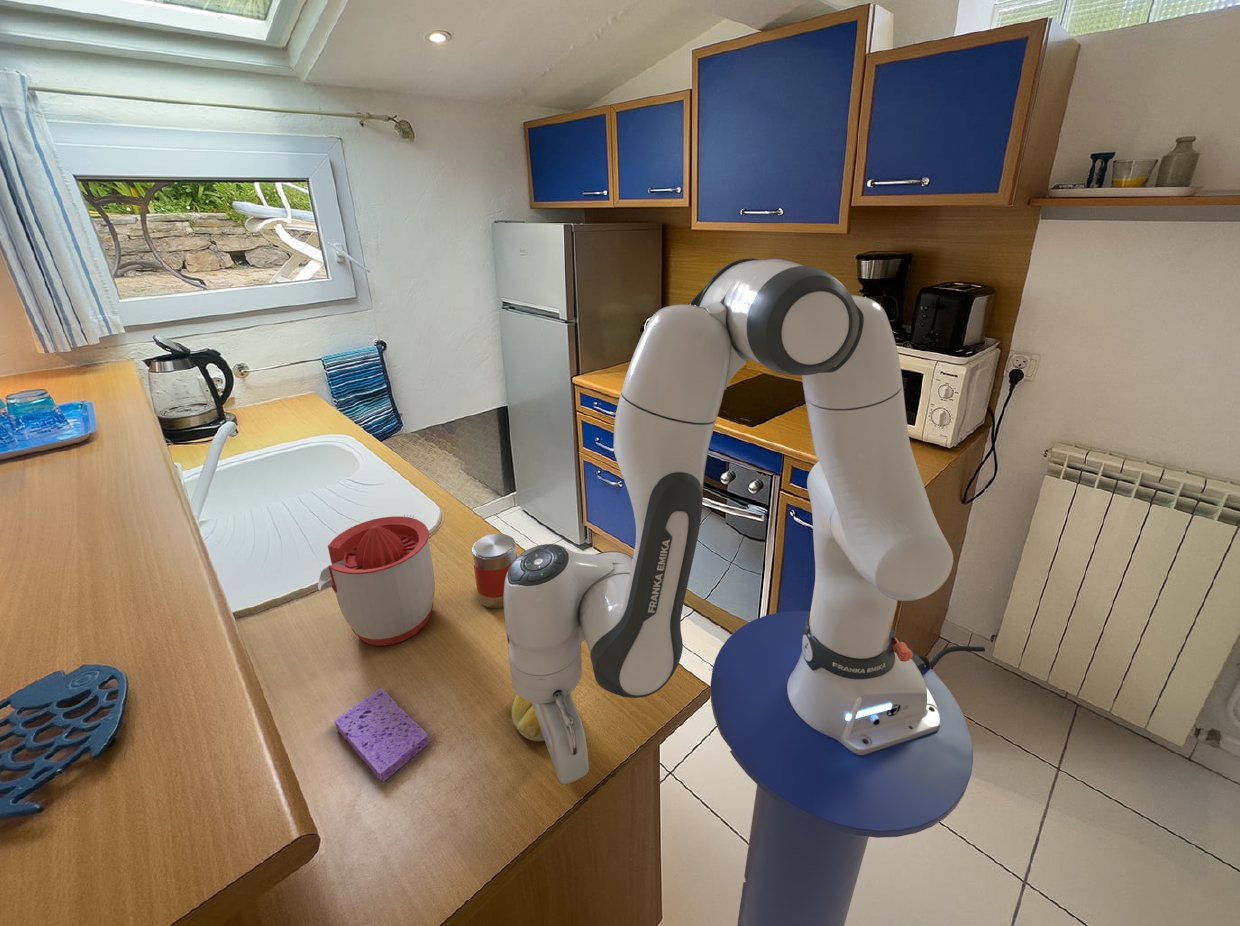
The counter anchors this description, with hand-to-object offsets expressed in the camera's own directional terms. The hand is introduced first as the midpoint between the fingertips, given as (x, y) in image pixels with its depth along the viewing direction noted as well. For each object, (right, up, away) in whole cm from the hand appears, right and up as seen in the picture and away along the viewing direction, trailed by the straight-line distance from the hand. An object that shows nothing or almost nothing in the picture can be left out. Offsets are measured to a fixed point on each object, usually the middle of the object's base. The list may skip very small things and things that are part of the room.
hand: (552, 740), depth 73 cm
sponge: (-24, -1, +2) cm, 24 cm away
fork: (-42, +17, +44) cm, 63 cm away
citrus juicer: (-32, +8, +22) cm, 40 cm away
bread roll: (-2, 0, +5) cm, 6 cm away
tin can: (-15, +11, +29) cm, 34 cm away
